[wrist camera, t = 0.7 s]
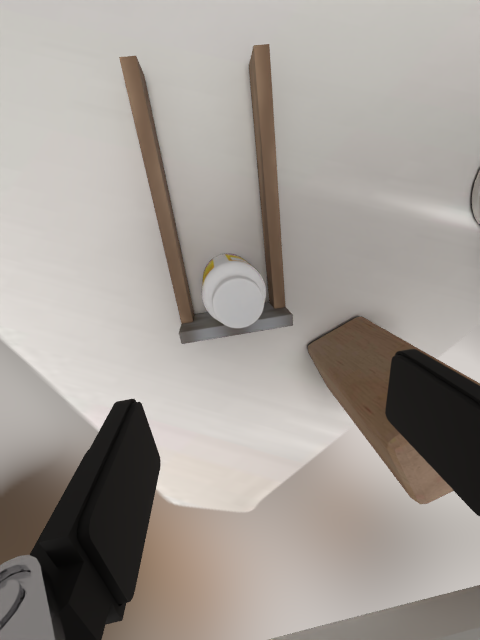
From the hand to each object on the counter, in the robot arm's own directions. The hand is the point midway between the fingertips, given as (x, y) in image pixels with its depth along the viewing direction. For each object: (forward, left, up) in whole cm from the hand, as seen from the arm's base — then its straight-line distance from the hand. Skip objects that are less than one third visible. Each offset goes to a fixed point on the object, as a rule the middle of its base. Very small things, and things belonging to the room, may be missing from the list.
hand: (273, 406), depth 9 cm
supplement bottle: (0, 0, -26) cm, 26 cm away
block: (-17, +15, -26) cm, 35 cm away
